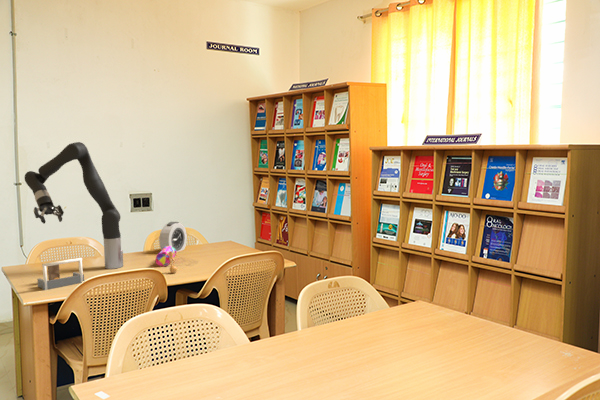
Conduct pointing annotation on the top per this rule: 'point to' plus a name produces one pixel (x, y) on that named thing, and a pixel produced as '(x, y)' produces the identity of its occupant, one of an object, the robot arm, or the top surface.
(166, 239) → the alarm clock
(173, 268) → the figurine
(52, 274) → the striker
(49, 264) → the grey basket with handle
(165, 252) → the pencil case
